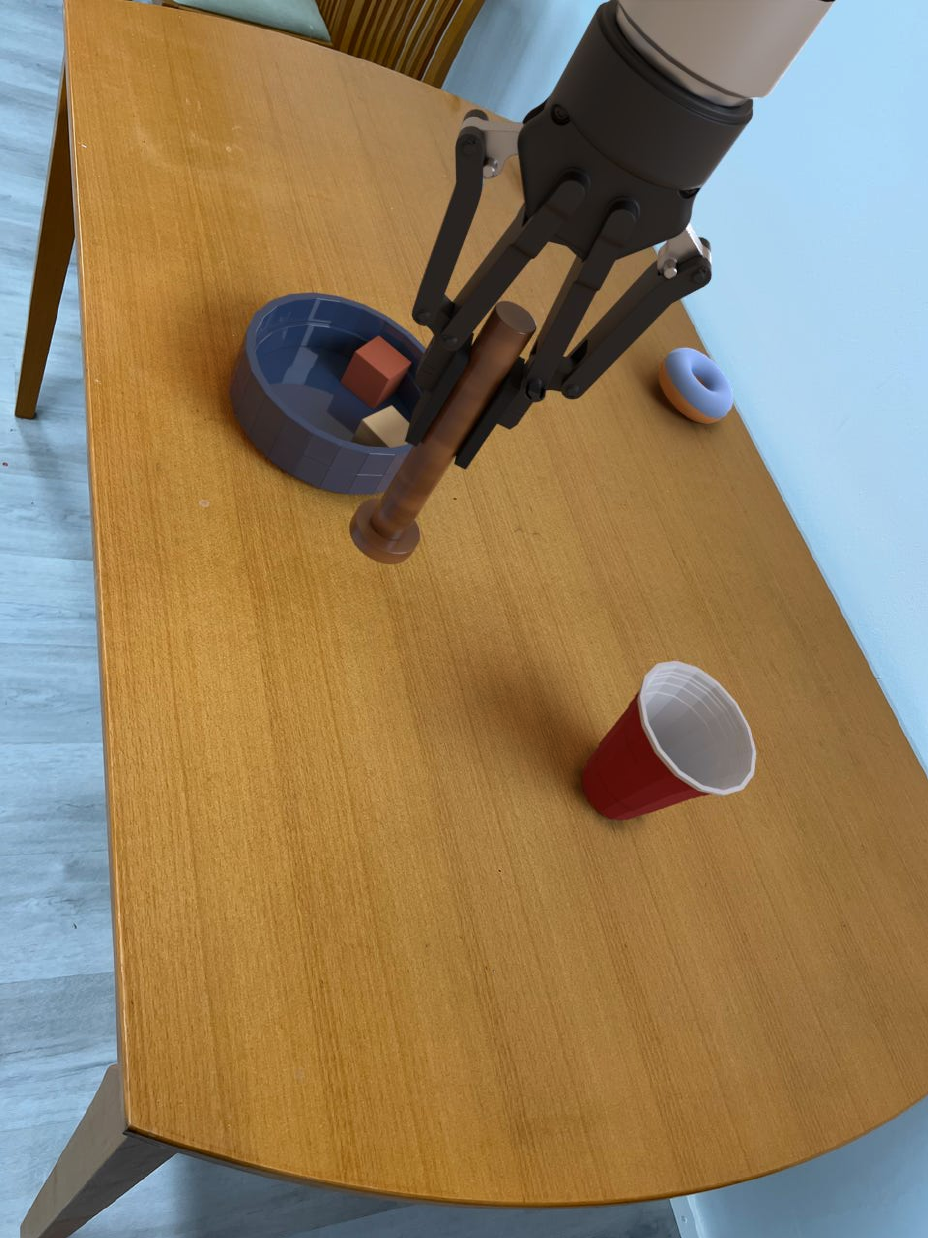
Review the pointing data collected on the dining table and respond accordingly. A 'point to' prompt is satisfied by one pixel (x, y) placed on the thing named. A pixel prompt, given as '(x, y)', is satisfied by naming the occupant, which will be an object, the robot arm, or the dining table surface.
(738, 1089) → the dining table surface
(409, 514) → the muddler
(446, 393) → the robot arm
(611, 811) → the plastic cup
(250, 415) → the bowl
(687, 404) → the doughnut
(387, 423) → the birch block
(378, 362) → the terracotta block
